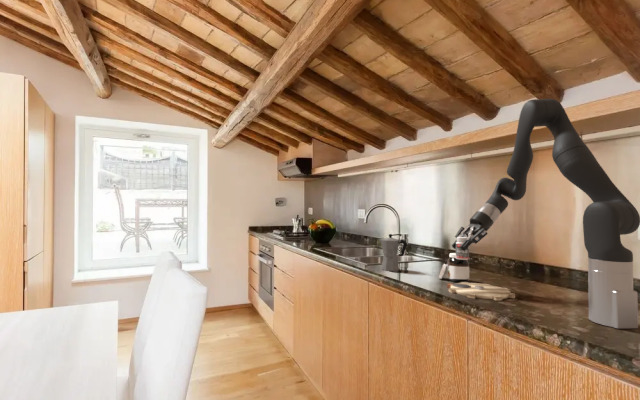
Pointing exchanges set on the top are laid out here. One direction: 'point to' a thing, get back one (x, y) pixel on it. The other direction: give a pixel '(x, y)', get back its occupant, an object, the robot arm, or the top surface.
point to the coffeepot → (391, 253)
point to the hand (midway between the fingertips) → (457, 248)
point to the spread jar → (456, 269)
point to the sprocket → (480, 291)
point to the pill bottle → (459, 252)
